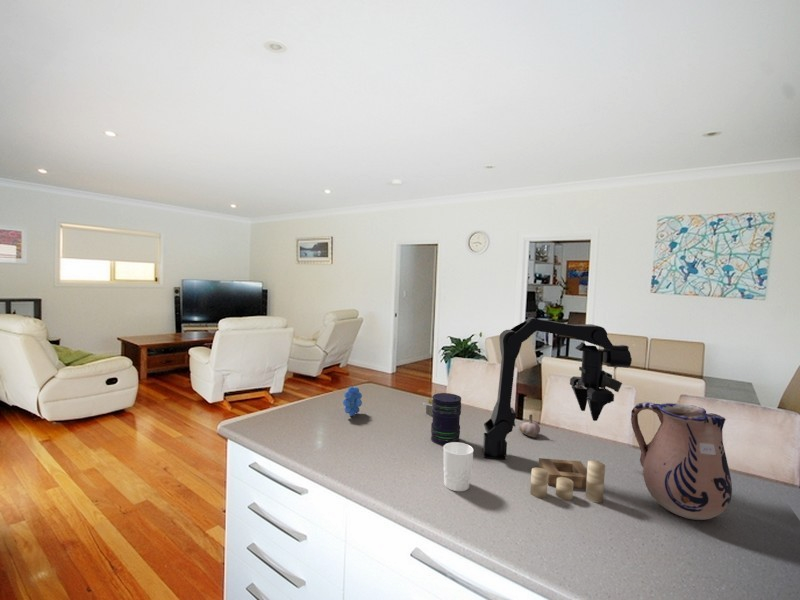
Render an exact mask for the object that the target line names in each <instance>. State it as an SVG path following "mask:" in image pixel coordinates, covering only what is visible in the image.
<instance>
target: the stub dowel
mask: <svg viewBox="0 0 800 600" xmlns="http://www.w3.org/2000/svg"><path fill="white" fill-rule="evenodd" d="M555 496H556V497H557V498H559V499H560V500H563V501H571V500H573V496H574V487H573V481H572V480H570V479H568V478H565V477H558V478H557V483H556V486H555Z"/></svg>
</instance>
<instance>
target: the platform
mask: <svg viewBox="0 0 800 600" xmlns="http://www.w3.org/2000/svg"><path fill="white" fill-rule="evenodd" d="M432 403H433V398H429V399H428V401H425V402H423V405H425V406H426V408H425V414H426V415H430V416H432V417H433V413H432Z"/></svg>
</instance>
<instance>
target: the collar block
mask: <svg viewBox="0 0 800 600" xmlns="http://www.w3.org/2000/svg"><path fill="white" fill-rule="evenodd" d="M537 465H538V467H537V468H542V469H545V470H546V471H547V472H548V481H547V486H553V487H556V483H557V478H558V477H565V478H568V479H570V480H572V481H573V488H579V489H586V481H587V466H585V465H584V463H583V462H582V461H580V460H569V459H568V460H567V459H557V458H556V459H555V458H541V457H539V458H538V463H537Z"/></svg>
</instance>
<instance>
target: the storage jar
mask: <svg viewBox="0 0 800 600" xmlns="http://www.w3.org/2000/svg"><path fill="white" fill-rule="evenodd" d="M432 399H433V403H432V413H433V416H432V422H431V424H430V425H431V427H430V434H431V435H430V440H431V442H432V443H434V444H435V445H439V446H443V447H444V445H445V444H447V443H451V442H459V443H460V434H461V425H460V417H461V414H462V397H461V396H460V395H457V394H455V393H447V392H441V393H439V392H438V393H434V394H433V395H432Z"/></svg>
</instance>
